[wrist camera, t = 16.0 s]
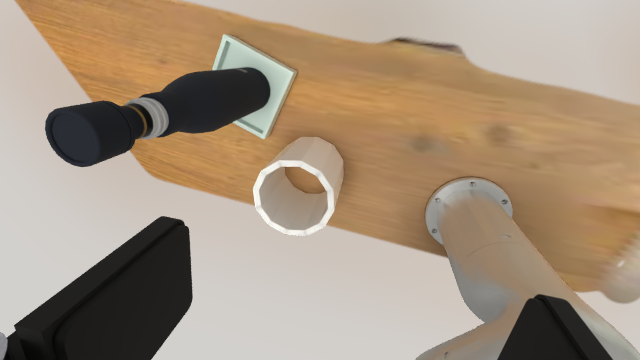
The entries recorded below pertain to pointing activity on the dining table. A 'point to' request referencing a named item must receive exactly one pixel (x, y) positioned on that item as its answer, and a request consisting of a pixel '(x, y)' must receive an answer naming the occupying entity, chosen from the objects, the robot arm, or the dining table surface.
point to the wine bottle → (156, 114)
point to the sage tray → (277, 74)
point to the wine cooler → (291, 203)
